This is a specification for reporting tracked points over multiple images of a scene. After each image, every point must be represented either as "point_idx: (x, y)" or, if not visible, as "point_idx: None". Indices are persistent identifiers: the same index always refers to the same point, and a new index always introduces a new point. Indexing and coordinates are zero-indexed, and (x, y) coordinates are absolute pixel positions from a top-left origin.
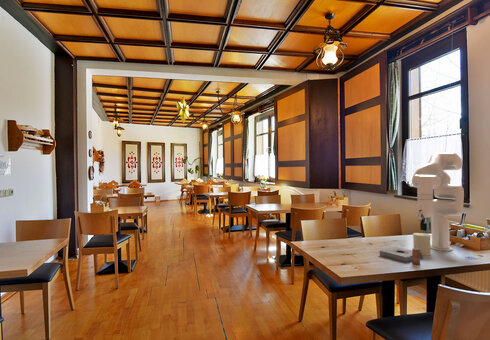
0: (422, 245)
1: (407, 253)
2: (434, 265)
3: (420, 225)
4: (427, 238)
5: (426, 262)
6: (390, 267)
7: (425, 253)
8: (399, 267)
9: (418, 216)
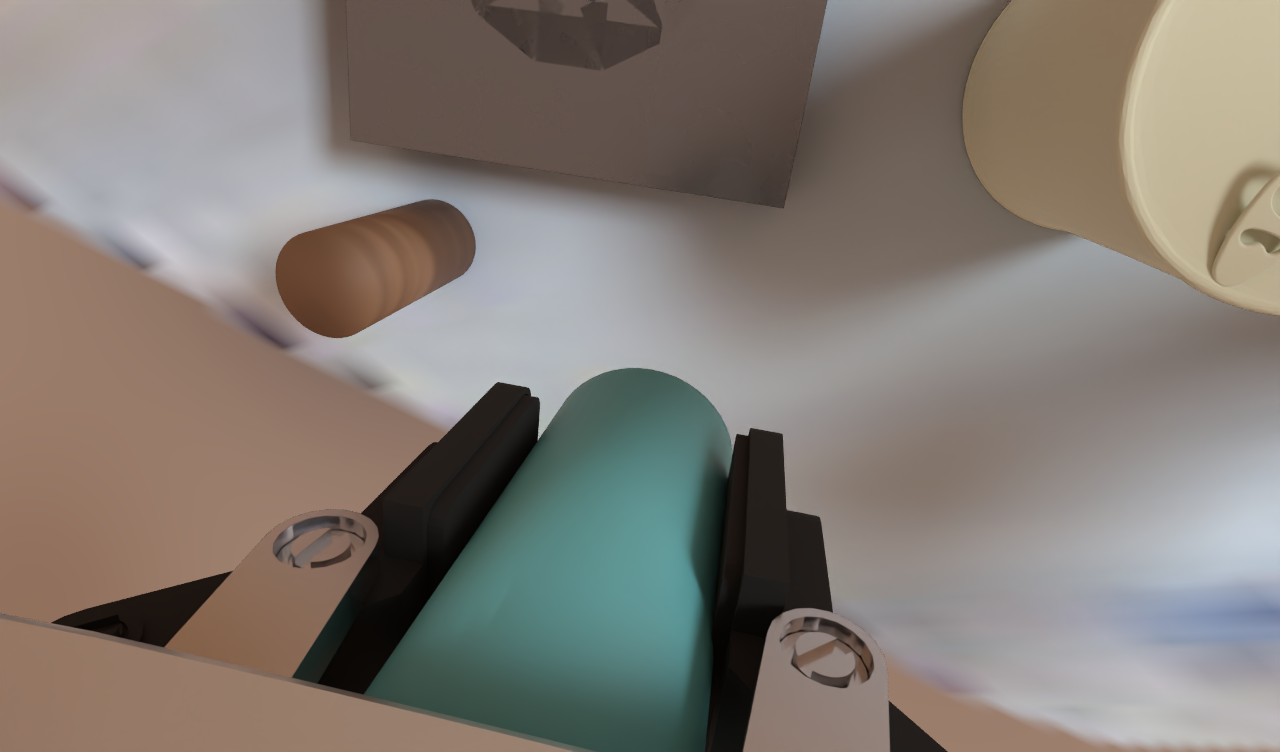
0: (1026, 158)
1: (557, 57)
2: (553, 401)
3: (439, 447)
4: (1159, 267)
5: (603, 306)
6: (72, 78)
7: (996, 188)
8: (162, 153)
9: (83, 666)
